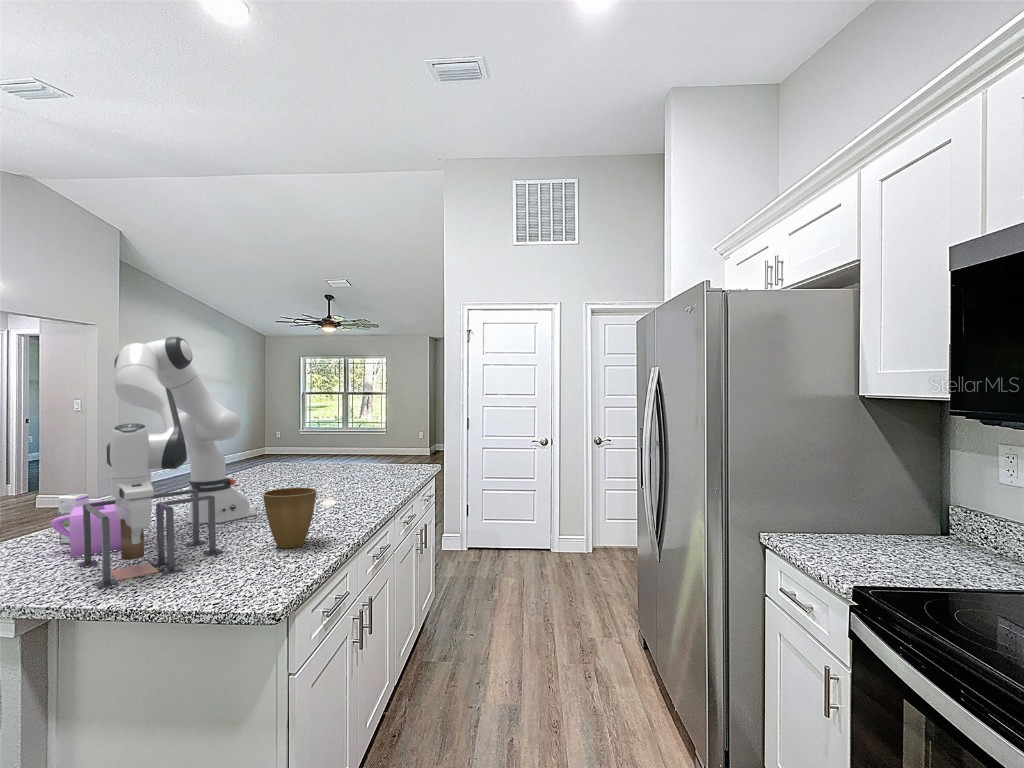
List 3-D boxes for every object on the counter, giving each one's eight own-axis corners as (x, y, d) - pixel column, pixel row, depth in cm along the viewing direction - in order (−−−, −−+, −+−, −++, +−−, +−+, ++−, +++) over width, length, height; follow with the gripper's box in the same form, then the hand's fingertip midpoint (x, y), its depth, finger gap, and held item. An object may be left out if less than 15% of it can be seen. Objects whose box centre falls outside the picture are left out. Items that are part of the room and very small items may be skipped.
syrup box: (91, 539, 188) (90, 493, 188) (75, 544, 182) (74, 497, 182) (74, 539, 188) (73, 493, 188) (58, 544, 182) (57, 497, 182)
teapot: (153, 546, 179) (152, 499, 179) (48, 561, 165) (47, 510, 165) (152, 535, 192) (151, 491, 191) (54, 548, 178) (53, 501, 178)
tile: (148, 564, 161) (148, 562, 161) (159, 572, 153) (159, 570, 153) (108, 572, 154) (108, 570, 154) (117, 581, 147) (117, 579, 147)
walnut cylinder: (119, 557, 154) (118, 518, 154) (141, 553, 157) (140, 515, 157) (123, 561, 150) (122, 521, 150) (146, 556, 154) (145, 517, 154)
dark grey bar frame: (201, 541, 183) (200, 487, 183) (234, 559, 164) (232, 499, 163) (77, 565, 161) (75, 504, 161) (98, 589, 142) (96, 519, 142)
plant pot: (314, 550, 171) (313, 494, 171) (259, 554, 168) (258, 497, 168) (320, 536, 186) (319, 485, 186) (269, 540, 183) (268, 488, 183)
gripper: (107, 484, 159) (108, 536, 159) (126, 494, 144) (127, 551, 144) (135, 481, 163) (136, 531, 163) (155, 490, 149) (157, 545, 149)
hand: (132, 541), depth 154 cm, fingers closed on walnut cylinder, 5 cm apart
